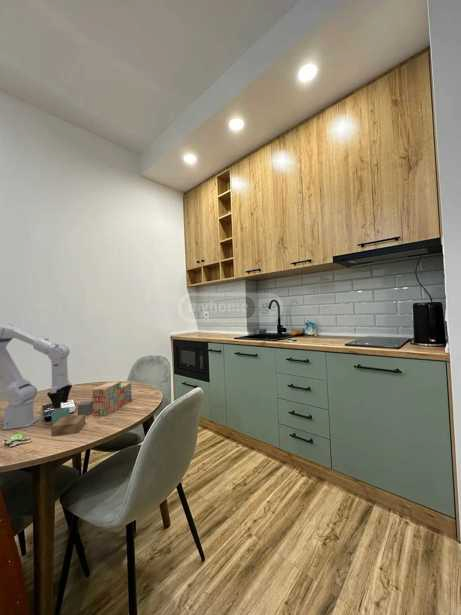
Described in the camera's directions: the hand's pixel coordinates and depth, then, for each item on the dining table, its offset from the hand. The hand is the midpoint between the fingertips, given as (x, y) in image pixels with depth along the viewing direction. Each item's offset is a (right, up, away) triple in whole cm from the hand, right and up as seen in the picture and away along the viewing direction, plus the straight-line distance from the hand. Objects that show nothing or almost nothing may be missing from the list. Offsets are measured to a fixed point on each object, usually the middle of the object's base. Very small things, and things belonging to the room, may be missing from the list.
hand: (60, 405), depth 110 cm
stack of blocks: (+17, -7, +14) cm, 23 cm away
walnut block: (+10, -6, -9) cm, 15 cm away
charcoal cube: (+7, -7, +7) cm, 12 cm away
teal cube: (0, -7, 0) cm, 7 cm away
